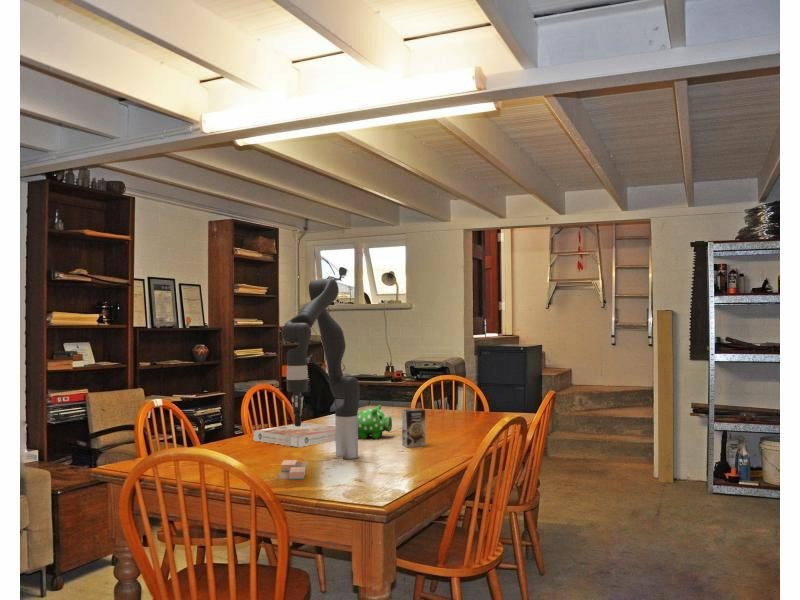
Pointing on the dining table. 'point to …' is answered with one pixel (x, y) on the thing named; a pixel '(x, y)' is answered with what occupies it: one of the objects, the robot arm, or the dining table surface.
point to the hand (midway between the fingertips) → (297, 425)
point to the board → (286, 474)
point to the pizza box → (296, 434)
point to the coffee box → (413, 427)
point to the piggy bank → (373, 423)
